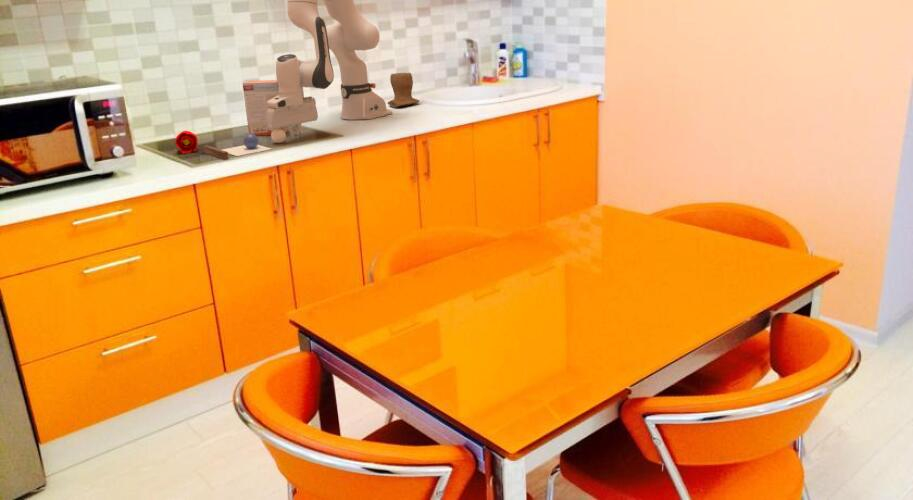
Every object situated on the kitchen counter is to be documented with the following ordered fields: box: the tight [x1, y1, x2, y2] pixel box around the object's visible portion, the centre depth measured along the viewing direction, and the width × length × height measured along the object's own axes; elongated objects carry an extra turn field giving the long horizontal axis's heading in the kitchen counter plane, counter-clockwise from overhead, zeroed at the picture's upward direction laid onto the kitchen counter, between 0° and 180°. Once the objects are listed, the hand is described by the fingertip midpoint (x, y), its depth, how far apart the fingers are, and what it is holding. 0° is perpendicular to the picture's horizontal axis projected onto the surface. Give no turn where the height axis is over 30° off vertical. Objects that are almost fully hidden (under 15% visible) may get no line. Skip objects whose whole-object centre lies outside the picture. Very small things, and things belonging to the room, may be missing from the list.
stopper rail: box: [203, 145, 230, 161], centre depth 291 cm, size 2×16×2 cm, turn 41°
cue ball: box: [270, 128, 287, 144], centre depth 306 cm, size 6×6×6 cm
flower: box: [174, 130, 198, 154], centre depth 299 cm, size 8×8×8 cm
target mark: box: [221, 144, 272, 157], centre depth 298 cm, size 14×14×1 cm
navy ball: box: [242, 133, 260, 149], centre depth 299 cm, size 6×6×6 cm
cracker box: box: [242, 79, 288, 136], centre depth 320 cm, size 14×6×21 cm, turn 84°
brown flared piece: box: [387, 72, 420, 109], centre depth 370 cm, size 15×12×15 cm
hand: (294, 135), depth 310 cm, fingers closed
